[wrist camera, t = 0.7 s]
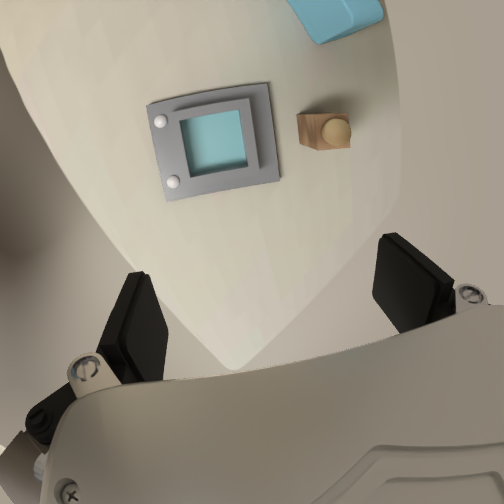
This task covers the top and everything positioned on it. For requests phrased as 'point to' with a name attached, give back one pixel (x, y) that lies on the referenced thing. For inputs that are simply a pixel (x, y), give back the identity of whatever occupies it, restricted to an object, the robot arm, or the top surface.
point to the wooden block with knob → (324, 130)
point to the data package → (336, 17)
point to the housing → (214, 141)
